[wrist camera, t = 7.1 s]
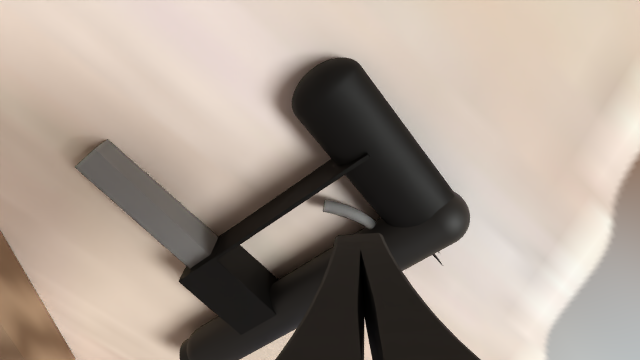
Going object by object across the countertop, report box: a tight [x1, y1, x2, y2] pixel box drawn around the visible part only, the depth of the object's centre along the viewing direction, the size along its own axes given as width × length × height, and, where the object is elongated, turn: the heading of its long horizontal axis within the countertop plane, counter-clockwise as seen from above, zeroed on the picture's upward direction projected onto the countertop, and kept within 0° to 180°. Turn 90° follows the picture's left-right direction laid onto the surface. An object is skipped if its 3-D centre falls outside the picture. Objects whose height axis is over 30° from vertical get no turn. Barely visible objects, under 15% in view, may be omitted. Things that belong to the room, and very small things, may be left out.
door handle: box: [75, 58, 470, 360], centre depth 23 cm, size 3×20×16 cm
